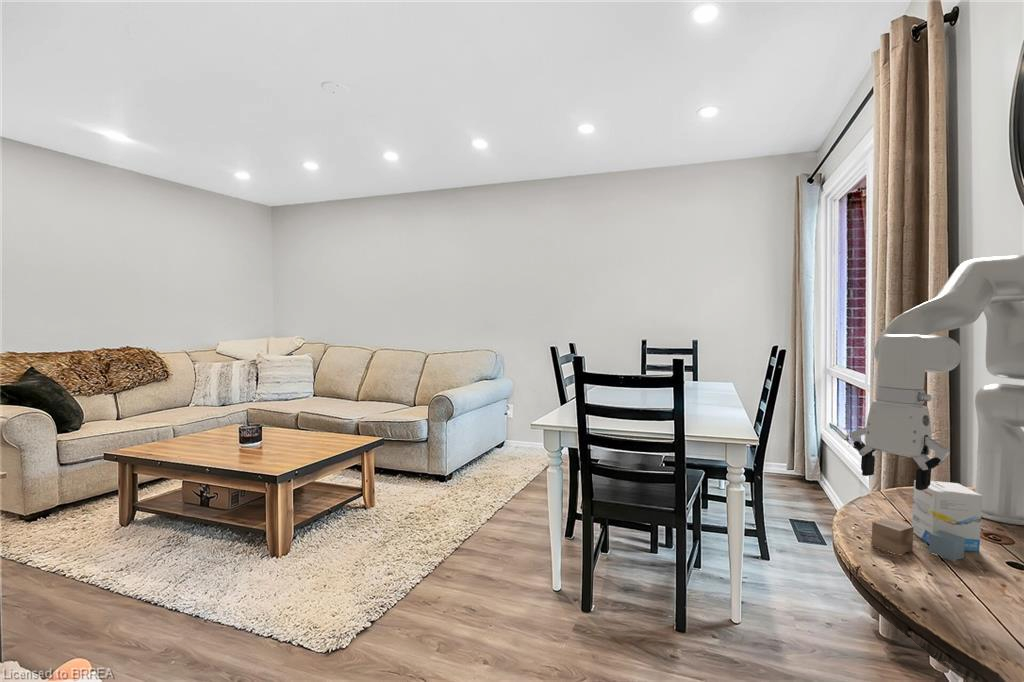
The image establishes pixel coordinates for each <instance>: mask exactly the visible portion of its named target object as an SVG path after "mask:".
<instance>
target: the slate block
mask: <svg viewBox="0 0 1024 682" xmlns="http://www.w3.org/2000/svg"><path fill="white" fill-rule="evenodd" d="M928 545H929V547H928V553H929V552H930V553H934V554H937V555H939V556H942V557H944V558H943V559H945V558H947V559H949V560H948V561H950V560H952V561H951V562H953V561H954V560H956V561H958V560H957V559H959V560H961V559H960V558H962V557H964V558H965V551H964V545H965V538H964V537H961V536H957V535H954V534H951V533H948V532H944V531H941V530H940V531H937V532H933V533H930V544H928ZM930 553H929V554H930ZM939 556H938V557H939ZM942 557H941V558H942ZM947 559H946V560H947ZM962 559H963V558H962ZM954 562H955V561H954Z"/></svg>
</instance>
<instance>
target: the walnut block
mask: <svg viewBox="0 0 1024 682" xmlns="http://www.w3.org/2000/svg"><path fill="white" fill-rule="evenodd" d="M871 525H872V526H871V527H872V528H871V543H870V546H871V545H873V546H876V547H879V548H881V549H884V550H886V551H885V552H887V551H889V552H888V553H890V552H892V553H895V554H897V555H896V556H898V555H900V554H903V553H906V552H908V553H910V552H909V551H911V552H913V550H914V549H913V547H914V545H913V544H914V533H913V532H914V527H913V526H912V525H909V524H906V523H903V522H901V521H896V520H894V519H891V518H886V517H885V518H882V519H878V520H874V521H872V524H871ZM873 546H872V547H873ZM876 547H875V548H876ZM879 548H878V549H879ZM881 549H880V550H881ZM884 550H883V551H884ZM892 553H891V554H892ZM895 554H894V555H895ZM906 554H907V553H906ZM903 555H904V554H903ZM900 556H901V555H900Z"/></svg>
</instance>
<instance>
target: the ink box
mask: <svg viewBox="0 0 1024 682" xmlns="http://www.w3.org/2000/svg"><path fill="white" fill-rule="evenodd" d="M915 485H916V479H915V480H913V496H912V497H913V499H912V515H911V516H912V517H911V526H913V527H914V532H913V534H914V533H915V534H914V535H915V536H917V537H918V538H920V539H921V540H923V541H924V542H925V543H927V544H928V545H929V544H930V533H933V532H937V531H940V530H941V531H944V532H948V533H951V534H954V535H957V536H961V537H964V538H965V545H964V552H965V551H967V552H974V553H975V552H977V553H979V552H980V546H981V545H980V544H981V543H980V542H981V527H982V526H981V525H982V517H981V513H982V495H980V494H978V493H976V492H975V490H974V491H973V490H972V489H970V488H968V487H966V486H964V485H962V484H961V483H958V482H949V481H947V482H946V481H940V480H939V481H938V480H937V481H936V480H931V482H930V486H929V487H928V488H927V489H924V490H917V489H916V488H915Z"/></svg>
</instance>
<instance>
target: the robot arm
mask: <svg viewBox="0 0 1024 682" xmlns="http://www.w3.org/2000/svg"><path fill="white" fill-rule="evenodd" d="M982 313H983V314H984V316H985V321H986V333H985V334H986V337H985V368H986V370H987V372H988V373H989V374H990V375H992V376H994V377H997V378H1003V379H1009V380H1010V379H1011V380H1021V381H1024V254H1014V255H1002V256H999V255H998V256H988V257H987V256H986V257H985V256H984V257H977V258H972V259H969V260H965V261H963V262H962V263H960V264H959V265H958V266H957V267H956V268H955V269H954V271H953V272H952V274H951V275H950V276H949V277H948V278H947V280H946V282H945V283H944V285H943V286H942V287H941V288H940V290H939V291H938V292H937V294H935V296H934V298H932V299H930V300H928V301H925V302H923V303H921V304H919V305H916V306H915V307H913V308H911V309H909V310H907V311H904V312H903V313H901V314H899V315H898V316H896V317H895V318H893V319H892V320H890V322H889V323H888V325H887V326H886V327H885V328H884V329H883V331H882V332H881V334H880V335H879V336H878V339H877V340H876V342H875V345H874V349H873V355H874V358H875V361H876V362H877V378H876V379H877V381H876V394H875V400H872V403H871V404H870V407H869V410H868V415H867V420H866V424H865V425H866V427H863V428H859V429H856V430H853V431H852V430H851V431H850V432H849V436H850V438H851V441H852V443H853V444H852V445H853V446H854V447H855V448H856V450H857V451H858V454H859V455H860V456H861V462H860V463H861V464H860V470H861V475H862V476H863V477H867V476H868V477H869V476H873V475H875V463H876V457H875V455H874V453H875V452H877V451H879V452H884V453H888V454H893V455H898V456H903V457H907V458H912V459H913V461H915V462H916V464H917V465H918V466H919V468H917V469H916V472H915V480H916V485H915V488H916V489H917V490H924V489H927V488H928V487H929V486H930V482H931V481H932V470H933V469H935V468H936V467H938V466H939V465H941V464H942V463H944V461H945V460H946V459H947V457H948V456H949V455H950V453H951V450H950V449H948V448H947V447H945V446H943V445H942V444H941V443H939V442H938V441H936V440H934V439H933V438H932V423H931V416H930V410H929V406H926V405H923V404H925V402H931V401H932V395H931V394H927V393H926V390H924V389H925V379H926V377H925V376H926V373H935V374H936V373H939V374H943V373H947V372H950V371H952V370H954V369H956V367H957V366H959V365H960V363H961V360H962V357H963V352H962V347H961V346H960V345H959V343H958V342H957V341H956V340H955V339H953V338H951V337H949V336H945V335H935V334H937V333H941V332H947V331H952V330H956V329H960V328H964V327H966V326H969V325H971V324H973V323H975V322H976V321H977V320H978V319H979V317H981V314H982ZM974 398H975V399H974V403H975V404H974V405H975V410H976V418H977V427H978V433H977V434H978V435H977V437H978V438H977V439H978V440H977V451H976V452H977V454H976V471H975V473H976V474H975V488H974V489H975V490H974V492H976V493H978V494H980V495H982V513H981V518H983V519H986V520H990V521H994V522H999V523H1004V524H1011V525H1016V526H1017V525H1018V526H1024V430H1023V429H1022V428H1024V385H1022V384H1011V383H990V384H986V385H984V386H981V387H980V388H979V389H978V390H977V391H976V394H975V397H974ZM862 436H865V438H864V440H865V441H862ZM932 450H933V451H934V452H935V455H934V456H933V457H932V458H930V457H929V456H930V455H931V454H932Z"/></svg>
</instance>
